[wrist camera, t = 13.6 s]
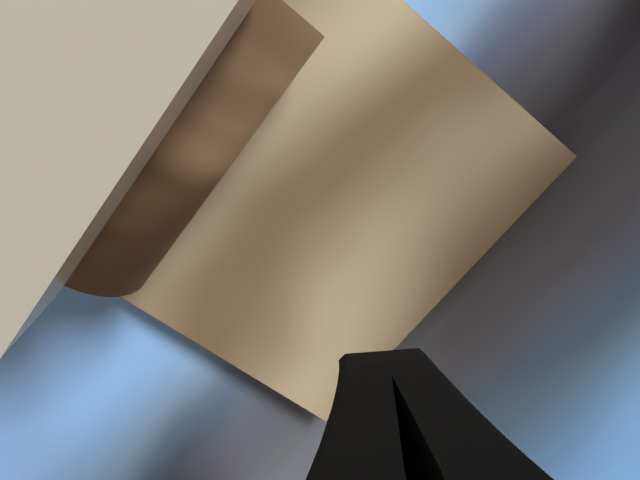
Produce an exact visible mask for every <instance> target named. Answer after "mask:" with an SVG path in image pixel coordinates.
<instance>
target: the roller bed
mask: <svg viewBox="0 0 640 480" xmlns="http://www.w3.org/2000/svg"><path fill="white" fill-rule="evenodd" d="M576 157H577V156H576V155H575V154H574V153H573V152H571V151H570V150H569V149H568V148H567V147H566V146H565V145H564V144H563V143H561V142H560V141H559V140H558V139H557V138H556V137H555V136H554V135H553V134H551V133H550V132H549V131H548V130H547V129H546V128H545V127H544V126H542V125H541V124H540V123H539V122H538V121H537V120H536V119H535V118H534V117H532V116H531V115H530V114H529V113H528V112H527V111H526V110H525V109H524V108H522V107H521V106H520V105H519V104H518V103H517V102H516V101H515V100H513V99H512V98H511V97H510V96H509V95H508V94H507V93H506V92H505V91H503V90H502V89H501V88H500V87H499V86H498V85H497V84H496V83H495V82H493V81H492V80H491V79H490V78H489V77H488V76H487V75H486V74H484V73H483V72H482V71H481V70H480V69H479V68H478V67H477V66H476V65H474V64H473V63H472V62H471V61H470V60H469V59H468V58H467V57H466V56H464V55H463V54H462V53H461V52H460V51H459V50H458V49H457V48H455V47H454V46H453V45H452V44H451V43H450V42H449V41H448V40H447V39H445V38H444V37H443V36H442V35H441V34H440V33H439V32H438V31H437V30H435V29H434V28H433V27H432V26H431V25H430V24H429V23H428V22H426V21H425V20H424V19H423V18H422V17H421V16H420V15H419V14H418V13H416V12H415V11H414V10H413V9H412V8H411V7H410V6H409V5H408V4H406V3H405V2H404V1H403V0H256V2H255V3H254V5H253V6H252V8H251V9H250V11H249V12H248V14H247V15H246V17H245V18H244V20H243V21H242V22H241V24H240V25H239V27H238V28H237V30H236V31H235V33H234V34H233V36H232V37H231V39H230V40H229V42H228V43H227V45H226V46H225V48H224V49H223V51H222V52H221V54H220V55H219V57H218V58H217V60H216V61H215V62H214V64H213V65H212V67H211V68H210V70H209V71H208V73H207V74H206V76H205V77H204V79H203V80H202V82H201V83H200V85H199V86H198V88H197V89H196V91H195V92H194V94H193V95H192V97H191V98H190V100H189V101H188V102H187V104H186V105H185V107H184V108H183V110H182V111H181V113H180V114H179V116H178V117H177V119H176V120H175V122H174V123H173V125H172V126H171V128H170V129H169V131H168V132H167V134H166V135H165V137H164V138H163V140H162V141H161V142H160V144H159V145H158V147H157V148H156V150H155V151H154V153H153V154H152V156H151V157H150V159H149V160H148V162H147V163H146V165H145V166H144V168H143V169H142V171H141V172H140V174H139V175H138V177H137V178H136V180H135V181H134V182H133V184H132V185H131V187H130V188H129V190H128V191H127V193H126V194H125V196H124V197H123V199H122V200H121V202H120V203H119V205H118V206H117V208H116V209H115V211H114V212H113V214H112V215H111V217H110V218H109V219H108V221H107V222H106V224H105V225H104V227H103V228H102V230H101V231H100V233H99V234H98V236H97V237H96V239H95V240H94V242H93V243H92V245H91V246H90V248H89V249H88V251H87V252H86V254H85V255H84V257H83V258H82V259H81V261H80V262H79V264H78V265H77V267H76V268H75V270H74V271H73V273H72V274H71V276H70V277H69V279H68V280H67V282H66V283H65V285H64V286H66V287H69V288H72V289H75V290H77V291H81V292H84V293H88V294H92V295H97V296H106V297H119V296H120V297H121V298H123V299H125V300H126V301H128V302H130V303H131V304H133V305H135V306H136V307H138V308H139V309H141V310H143V311H144V312H146V313H148V314H149V315H151V316H153V317H154V318H156V319H158V320H159V321H161V322H163V323H164V324H166V325H168V326H169V327H171V328H173V329H174V330H176V331H177V332H179V333H181V334H182V335H184V336H186V337H187V338H189V339H191V340H192V341H194V342H196V343H197V344H199V345H201V346H202V347H204V348H206V349H207V350H209V351H211V352H212V353H214V354H215V355H217V356H219V357H220V358H222V359H224V360H225V361H227V362H229V363H230V364H232V365H234V366H235V367H237V368H239V369H240V370H242V371H244V372H245V373H247V374H248V375H250V376H252V377H253V378H255V379H257V380H258V381H260V382H262V383H263V384H265V385H267V386H268V387H270V388H272V389H273V390H275V391H277V392H278V393H280V394H282V395H283V396H285V397H286V398H288V399H290V400H291V401H293V402H295V403H296V404H298V405H300V406H301V407H303V408H305V409H306V410H308V411H310V412H311V413H313V414H315V415H316V416H318V417H319V418H321V419H323V420H324V421H327V420H328V418H329V415H330V412H331V408H332V405H333V400H334V396H335V392H336V387H337V382H338V375H339V359H340V358H341V357H342V356H343V355H344V354H348V353H361V352H375V351H389V350H394V349H395V348H396V347H397V346H398V345H399V344H400V343H401V342H402V341H403V340H404V338H405V337H406V336H407V335H408V334H409V333H410V332H411V331H412V330H413V329H414V328H415V327H416V326H417V325H418V324H419V323H420V322H421V321H422V319H423V318H424V317H425V316H426V315H427V314H428V313H429V312H430V311H431V310H432V309H433V308H434V307H435V306H436V305H437V304H438V303H439V302H440V300H441V299H442V298H443V297H444V296H445V295H446V294H447V293H448V292H449V291H450V290H451V289H452V288H453V287H454V286H455V285H456V284H457V283H458V281H459V280H460V279H461V278H462V277H463V276H464V275H465V274H466V273H467V272H468V271H469V270H470V269H471V268H472V267H473V266H474V265H475V263H476V262H477V261H478V260H479V259H480V258H481V257H482V256H483V255H484V254H485V253H486V252H487V251H488V250H489V249H490V248H491V247H492V246H493V244H494V243H495V242H496V241H497V240H498V239H499V238H500V237H501V236H502V235H503V234H504V233H505V232H506V231H507V230H508V229H509V228H510V227H511V225H512V224H513V223H514V222H515V221H516V220H517V219H518V218H519V217H520V216H521V215H522V214H523V213H524V212H525V211H526V210H527V209H528V208H529V206H530V205H531V204H532V203H533V202H534V201H535V200H536V199H537V198H538V197H539V196H540V195H541V194H542V193H543V192H544V191H545V190H546V189H547V187H548V186H549V185H550V184H551V183H552V182H553V181H554V180H555V179H556V178H557V177H558V176H559V175H560V174H561V173H562V172H563V171H564V170H565V168H566V167H567V166H568V165H569V164H570V163H571V162H572V161H573V160H574V159H575V158H576Z"/></svg>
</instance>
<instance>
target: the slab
mask: <svg viewBox="0 0 640 480" xmlns="http://www.w3.org/2000/svg"><path fill="white" fill-rule="evenodd" d="M255 2H256V0H0V358H1V357H2V356H3V355H4V354H5V353H6V352H7V351H8V350H9V348H10V347H11V346H12V345H13V344H14V343H15V342H16V341H17V340H18V338H19V337H20V336H21V335H22V334H23V333H24V332H25V331H26V330H27V328H28V327H29V326H30V325H31V324H32V323H33V322H34V321H35V320H36V318H37V317H38V316H39V315H40V314H41V313H42V312H43V311H44V310H45V308H46V307H47V306H48V305H49V304H50V303H51V302H52V301H53V300H54V298H55V297H56V296H57V295H58V294H59V292H60V291H61V289H62V288H63V286H64V285H65V283H66V282H67V280H68V279H69V277H70V276H71V274H72V273H73V271H74V270H75V268H76V267H77V265H78V264H79V262H80V261H81V259H82V258H83V257H84V255H85V254H86V252H87V251H88V249H89V248H90V246H91V245H92V243H93V242H94V240H95V239H96V237H97V236H98V234H99V233H100V231H101V230H102V228H103V227H104V225H105V224H106V222H107V221H108V219H109V218H110V217H111V215H112V214H113V212H114V211H115V209H116V208H117V206H118V205H119V203H120V202H121V200H122V199H123V197H124V196H125V194H126V193H127V191H128V190H129V188H130V187H131V185H132V184H133V182H134V181H135V180H136V178H137V177H138V175H139V174H140V172H141V171H142V169H143V168H144V166H145V165H146V163H147V162H148V160H149V159H150V157H151V156H152V154H153V153H154V151H155V150H156V148H157V147H158V145H159V144H160V142H161V141H162V140H163V138H164V137H165V135H166V134H167V132H168V131H169V129H170V128H171V126H172V125H173V123H174V122H175V120H176V119H177V117H178V116H179V114H180V113H181V111H182V110H183V108H184V107H185V105H186V104H187V102H188V101H189V100H190V98H191V97H192V95H193V94H194V92H195V91H196V89H197V88H198V86H199V85H200V83H201V82H202V80H203V79H204V77H205V76H206V74H207V73H208V71H209V70H210V68H211V67H212V65H213V64H214V62H215V61H216V60H217V58H218V57H219V55H220V54H221V52H222V51H223V49H224V48H225V46H226V45H227V43H228V42H229V40H230V39H231V37H232V36H233V34H234V33H235V31H236V30H237V28H238V27H239V25H240V24H241V22H242V21H243V20H244V18H245V17H246V15H247V14H248V12H249V11H250V9H251V8H252V6H253V5H254V3H255Z"/></svg>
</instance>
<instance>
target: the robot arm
mask: <svg viewBox="0 0 640 480" xmlns="http://www.w3.org/2000/svg"><path fill="white" fill-rule="evenodd" d="M306 480H554V479H552V478H551V477H550V476H549V475H548V474H547V473H545V472H544V471H543V470H542V469H541V468H540V467H539V466H537V465H536V464H535V463H534V462H533V461H532V460H530V459H529V458H528V457H527V456H526V455H525V454H524V453H522V452H521V451H520V450H519V449H518V448H517V447H516V446H515V445H514V444H513V443H512V442H510V441H509V440H508V439H507V438H506V437H505V436H504V435H503V434H502V433H501V432H500V431H499V430H498V429H497V428H496V427H495V426H494V425H493V424H492V423H490V422H489V421H488V420H487V419H486V418H485V417H484V416H483V415H482V414H481V413H480V412H479V411H478V410H477V409H476V408H475V407H474V406H473V405H472V404H471V403H470V402H469V401H468V400H467V399H466V398H465V397H464V396H463V395H462V394H461V392H460V391H459V390H458V389H457V388H456V387H455V386H454V385H453V384H452V383H451V382H450V381H449V380H448V379H447V378H446V376H445V375H444V374H443V373H442V372H441V371H440V370H439V369H438V368H437V367H436V365H435V364H434V363H433V362H432V361H431V360H430V359H429V358H428V356H427V355H426V354H425V353H424V352H423V351H421V350H420V349H419V348H416V349H402V350H389V351H375V352H361V353H348V354H344V355H343V356H342V357H341V358H340V359H339V375H338V382H337V387H336V392H335V396H334V400H333V405H332V408H331V412H330V415H329V418H328V421H327V424H326V427H325V431H324V434H323V437H322V440H321V443H320V446H319V448H318V451H317V453H316V456H315V458H314V461H313V463H312V466H311V468H310V471H309V473H308V475H307V478H306Z"/></svg>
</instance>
